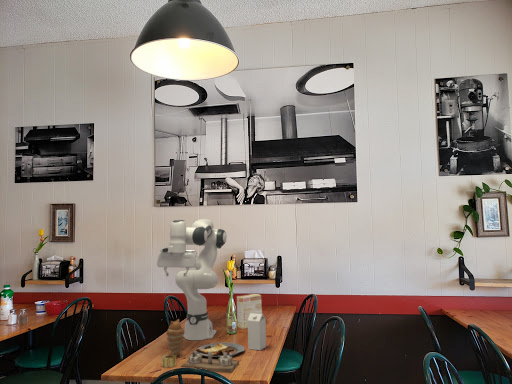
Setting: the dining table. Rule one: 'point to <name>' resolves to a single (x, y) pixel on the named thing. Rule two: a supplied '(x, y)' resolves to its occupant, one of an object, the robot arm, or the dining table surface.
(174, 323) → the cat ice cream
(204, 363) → the gear board
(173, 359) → the brass gear
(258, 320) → the milk carton
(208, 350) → the food plate
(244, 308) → the coffeecake box
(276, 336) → the dining table surface
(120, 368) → the dining table surface
